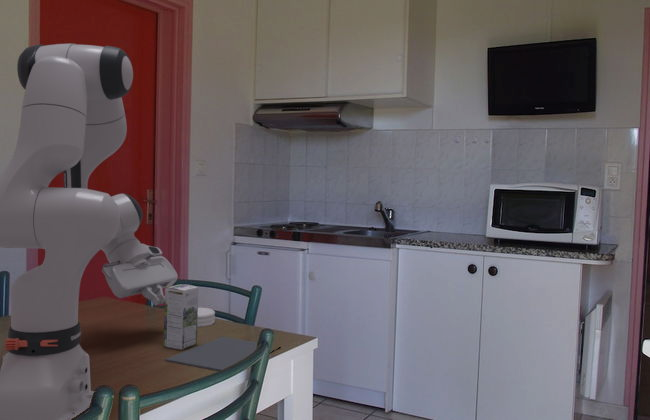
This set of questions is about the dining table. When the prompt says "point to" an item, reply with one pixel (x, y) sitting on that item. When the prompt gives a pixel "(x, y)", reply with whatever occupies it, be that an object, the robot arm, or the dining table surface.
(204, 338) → the dining table surface
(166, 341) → the syrup box
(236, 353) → the mat
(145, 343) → the dining table surface
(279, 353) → the dining table surface
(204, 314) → the white round tub
